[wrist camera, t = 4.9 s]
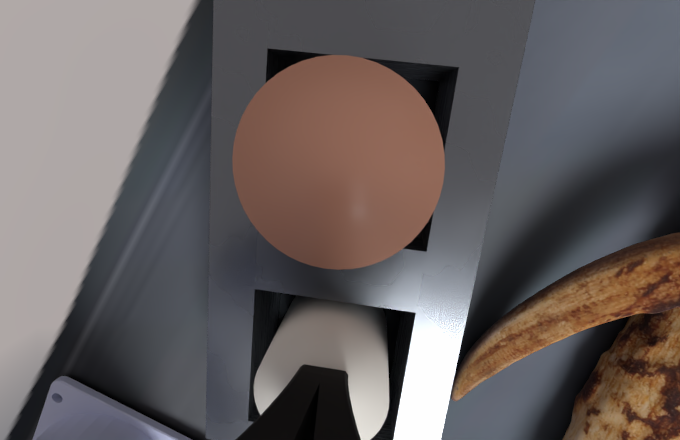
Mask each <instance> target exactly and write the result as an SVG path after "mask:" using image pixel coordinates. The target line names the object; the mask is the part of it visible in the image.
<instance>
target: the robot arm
mask: <svg viewBox="0 0 680 440" xmlns="http://www.w3.org/2000/svg"><path fill="white" fill-rule="evenodd" d="M32 440H192V439H190V438H188V437H186V436H184V435H182V434H180V433H178V432H176V431H174V430H172V429H170V428H168V427H166V426H164V425H162V424H160V423H159V422H157V421H155V420H153V419H151V418H149V417H147V416H145V415H143V414H141V413H139V412H137V411H135V410H133V409H131V408H129V407H127V406H125V405H123V404H121V403H119V402H117V401H115V400H113V399H111V398H109V397H107V396H105V395H103V394H101V393H99V392H97V391H95V390H93V389H91V388H89V387H87V386H85V385H83V384H82V383H80V382H78V381H76V380H74V379H72V378H70V377H67V376H61V377H59V378H57V379H56V380H55V381H53V382H52V384H51V386H50V389H49V392H48V395H47V398H46V401H45V404H44V407H43V410H42V413H41V416H40V419H39V422H38V425H37V428H36V430H35V433H34V436H33V439H32ZM236 440H361V439H360V435H359V432H358V429H357V425H356V421H355V418H354V414H353V410H352V405H351V400H350V394H349V386H348V374H347V373H346V371H343V370H337V369H331V368H325V367H318V366H312V365H306V364H304V365H302V366H301V367H300V368H299V369H298V371H297V372H296V374H295V375H294V376H293V378H292V379H291V380H290V382H289V383H288V384H287V386H286V387H285V388H284V389H283V391H282V392H281V393H280V394H279V395H278V396H277V398H276V399H275V400H274V401H273V402H272V403H271V404H270V406H269V407H268V408H267V409H266V410H265V411H264V412H263V413H262V414H261V415H260V416H259V417H258V418H257V419H256V420H255V421H254V422H253V423H252V424H251V425H250V426H249V427H248V428H247V429H246V430H245V431H244V432H243V433H242V434H241V435H240V436H239V437H238V438H237V439H236Z"/></svg>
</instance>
